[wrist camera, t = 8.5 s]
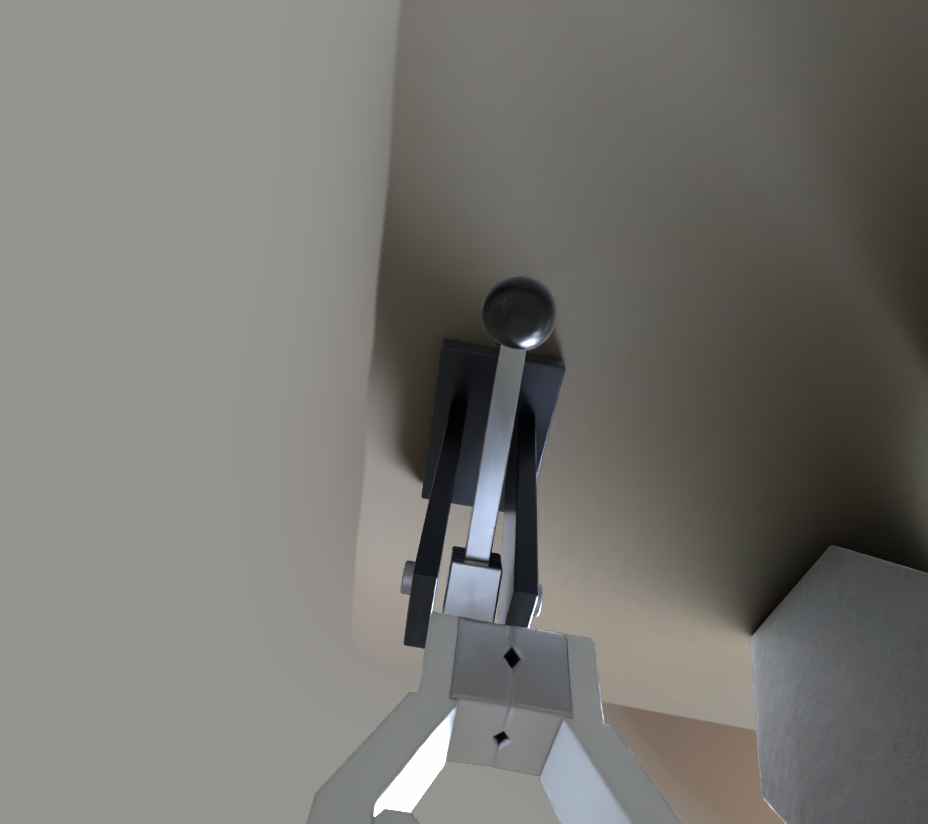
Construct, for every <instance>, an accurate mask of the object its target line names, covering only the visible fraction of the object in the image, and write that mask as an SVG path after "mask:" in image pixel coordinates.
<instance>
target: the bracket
mask: <svg viewBox="0 0 928 824" xmlns="http://www.w3.org/2000/svg"><path fill="white" fill-rule="evenodd" d="M498 354H499V348H497V347H491V346H485V345H479V344H473V343H467V342H461V341H455V340H449V339H444V340H443V343H442V347H441V353H440V361H439V369H438V376H437V384H436V391H435V399H434V406H433V414H432V421H431V429H430V436H429V444H428V451H427V459H426V466H425V474H424V482H423V489H422V498H424V499H429V504H428V508H427V513H426V517H425V522H424V526H423V531H422V535H421V540H420V544H419V549H418V553H417V558H416V562H413V561H406V563H405V567H404V572H403V577H402V583H401V591H400V592H401V593H402V594H407V595H410V599H409V606H408V613H407V621H406V628H405V636H404V645H406V646H412V647H417V648H423V649H425V645H426V639H427V633H428V627H429V622H430V617H431V613H432V612H433V606H434V601H435V595H436V589H437V583H438V577H439V572H440V566H441V560H442V554H443V549H444V543H445V537H446V531H447V525H448V520H449V514H450V508H451V503H453V504H459V505H465V506H471V507H472V506H473V500H474V494H475V488H476V482H477V476H478V471H479V465H480V459H481V453H482V447H483V441H484V436H485V430H486V424H487V418H488V412H489V406H490V401H491V395H492V389H493V383H494V377H495V371H496V366H497V360H498ZM564 372H565V361H564V359H562V358H556V357H550V356H544V355H538V354H532V353H526V356H525V362H524V368H523V374H522V379H521V385H520V391H519V397H518V402H517V408H516V414H515V420H514V425H513V431H512V437H511V443H510V448H509V454H508V460H507V466H506V471H505V477H504V483H503V489H502V494H501V500H500V506H499V511H500V512H504V516H503V534H502V552H501V563H502V570H503V573H502V579H501V585H500V590H499V606H498V624H502V625H507V626H511V625H513V626H520V627H527V628H529V626H530V623H531V619H532V616H535V617H537V616H538V615H539V613H540V609H541V604H542V596H543V588H542V584H541V583H538V529H537V476H538V472H539V468H540V464H541V461H542V457H543V453H544V449H545V445H546V441H547V437H548V434H549V430H550V426H551V422H552V418H553V414H554V410H555V406H556V403H557V399H558V395H559V391H560V387H561V383H562V379H563V376H564Z"/></svg>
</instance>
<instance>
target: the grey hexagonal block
mask: <svg viewBox="0 0 928 824" xmlns="http://www.w3.org/2000/svg"><path fill="white" fill-rule="evenodd" d="M750 653H751V667H752V680H753V692H754V705H755V718H756V731H757V743H758V755H759V769H760V781H761V794H762V797H763V799H764V800H765V801H766V802H767V803H768V804H769V806H770V807H771V808H772V809H773V810H774V811H775V812H776V813H777V814H778V816H779V817H780V818H782V820H783V821H784V822H785V823H786V824H928V573H926V572H922V571H919V570H916V569H912V568H909V567H905V566H902V565H899V564H895V563H892V562H889V561H885V560H882V559H879V558H875V557H872V556H868V555H865V554H862V553H858V552H855V551H852V550H848V549H845V548H842V547H838V546H834V545H831V546H829V547H828V549H827V550H826V551H825V552H824V553H823V554H822V556H821V557H820V558H819V559H818V560H817V561H816V562H815V564H814V565H813V566H812V567H811V568H810V569H809V570H808V572H807V573H806V574H805V575H804V576H803V577H802V579H801V580H800V581H799V582H798V583H797V584H796V585H795V587H794V588H793V589H792V590H791V591H790V592H789V594H788V595H787V596H786V597H785V598H784V599H783V600H782V602H781V603H780V604H779V605H778V606H777V607H776V609H775V610H774V611H773V612H772V613H771V614H770V615H769V617H768V618H767V619H766V620H765V621H764V622H763V624H762V625H761V626H760V627H759V628H758V629H757V631H756V632H755V633H754V634H753V635H752V637H751V639H750Z"/></svg>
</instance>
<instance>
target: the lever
mask: <svg viewBox="0 0 928 824" xmlns="http://www.w3.org/2000/svg"><path fill="white" fill-rule="evenodd" d="M481 319H482V324H483V328H484V330H485V332H486V334H487V335H488V337H489V338H490V339H491V340H492V341H493V342H494V343H495V344H496V345H498V346H499V347H500V348H499V354H498V360H497V366H496V371H495V377H494V383H493V389H492V395H491V401H490V406H489V412H488V418H487V424H486V430H485V436H484V441H483V447H482V453H481V459H480V465H479V471H478V476H477V482H476V488H475V494H474V500H473V506H472V511H471V517H470V523H469V529H468V535H467V540H466V546H465V548H462V547H457V546H454V547H453V548H452V553H451V559H450V565H449V571H448V577H447V582H446V588H445V594H444V600H443V606H442V613H444V614H449V615H455V616H458V618H459V616H461V617H466V618H471V619H476V620H481V621H487V622H492V623H494V619H495V613H496V608H497V602H498V596H499V590H500V585H501V579H502V573H503V570H502V563H501V557H500V554H498V553H492V546H493V540H494V535H495V529H496V523H497V517H498V512H499V506H500V500H501V494H502V489H503V483H504V477H505V471H506V466H507V460H508V454H509V448H510V443H511V437H512V431H513V425H514V420H515V414H516V408H517V402H518V397H519V391H520V385H521V379H522V374H523V368H524V362H525V356H526V351H529V350H532V349H534V348H536V347H538V346H540V345H541V344H542V343H544V342H545V341H546V340H547V339H548V337H549V336H550V335H551V333H552V331H553V329H554V327H555V324H556V320H557V307H556V302H555V299H554V297H553V295H552V293H551V292H550V290H549V289H548V288H547V287H546V286H545V285H544V284H543V283H542V282H540V281H538V280H537V279H535V278H532V277H529V276H523V275H516V276H510V277H507V278H505V279H502V280H501V281H499V282H497V283H496V284H495V285H494V286H493V287H492V288H491V289H490V290H489V292H488V293H487V295H486V296H485V298H484V301H483V304H482V309H481Z"/></svg>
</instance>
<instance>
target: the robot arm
mask: <svg viewBox="0 0 928 824" xmlns="http://www.w3.org/2000/svg"><path fill="white" fill-rule="evenodd" d="M445 761H450V762H457V763H465V764H472V765H479V766H487V767H493V768H499V769H504V770H509V771H514V772H519V773H524V774H529V775H534V776H540V778H539V780H540V782H541V784H542V786H543V788H544V790H545V792H546V794H547V796H548V798H549V801H550V803H551V805H552V807H553V809H554V811H555V813H556V815H557V817H558V819H559V821H560V823H561V824H682V823H681V822H680V820H679V819H678V817H677V816H676V814H675V813H674V812H673V810H672V809H671V807H670V806H669V804H668V803H667V802H666V800H665V799H664V797H663V796H662V795H661V793H660V792H659V790H658V789H657V788H656V786H655V785H654V783H653V782H652V780H651V779H650V778H649V776H648V775H647V774H646V772H645V771H644V769H643V768H642V766H641V765H640V764H639V762H638V761H637V759H636V758H635V757H634V755H633V754H632V752H631V751H630V749H629V748H628V747H627V745H626V744H625V742H624V741H623V740H622V738H621V737H620V735H619V734H618V732H617V731H616V730H615V728H614V727H613V726H611V725H606V724H604V716H603V709H602V700H601V692H600V684H599V676H598V668H597V660H596V652H595V644H594V642H593V640H592V638H586V637H580V636H574V635H568V634H563V633H560V632H553V631H546V630H540V629H533V628H527V627H520V626H513V625H511V626H507V625H502V624H497V623H492V622H487V621H481V620H476V619H471V618H466V617H461V616H459V618H458V616H455V615H449V614H444V613H438V612H432V613H431V617H430V622H429V627H428V633H427V639H426V645H425V651H424V657H423V663H422V668H421V674H420V680H419V686H418V692H417V693H413V692H409V693H408V695H407V696H406V697H405V698H404V699H403V700H402V701H401V702H400V703H399V704H398V705H397V706H396V707H395V708H394V710H393V711H392V712H391V713H390V714H389V715H388V716H387V717H386V718H385V719H384V720H383V721H382V722H381V723H380V724H379V726H378V727H377V728H376V729H375V730H374V731H373V732H372V733H371V734H370V735H369V736H368V737H367V738H366V740H365V741H364V742H363V743H362V744H361V745H360V746H359V747H358V748H357V749H356V750H355V751H354V752H353V754H352V755H351V756H350V757H349V758H348V759H347V760H346V761H345V762H344V763H343V764H342V765H341V766H340V767H339V769H337V771H336V772H335V773H334V774H333V775H332V776H331V777H330V778H329V779H328V780H327V781H326V782H325V783H324V785H323V786H322V787H321V788H320V789H319V790H318V791H317V792H316V793H315V796H314V800H313V803H312V806H311V810H310V813H309V817H308V821H307V824H419V822H418V821H417V819H416V818H415V817H414V815H413V814H412V813H411V810H412V809H413V808H414V806H415V805H416V804H417V802H418V801H419V799H420V798H421V796H422V795H423V794H424V792H425V791H426V789H427V788H428V787H429V785H430V784H431V782H432V781H433V780H434V778H435V777H436V775H437V774H438V773H439V771H440V770H441V768H442V767H443V765H444V764H445Z"/></svg>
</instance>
